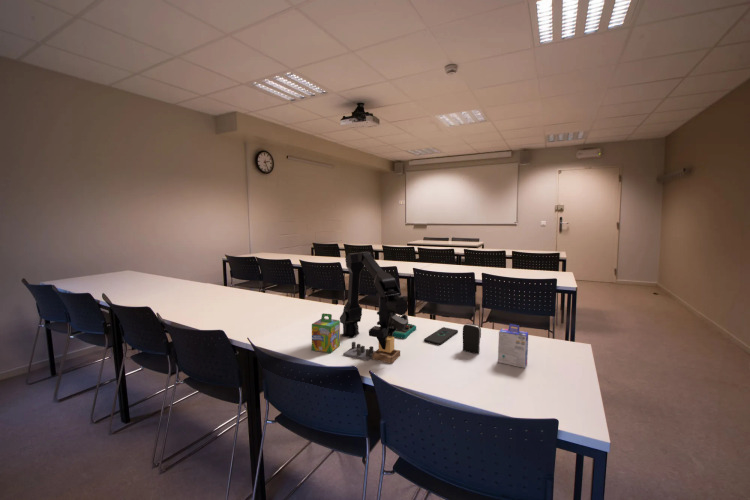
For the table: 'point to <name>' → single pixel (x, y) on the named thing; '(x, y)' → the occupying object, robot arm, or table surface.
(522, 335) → the ink cartridge box
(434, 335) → the smart home device
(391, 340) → the tan cardboard cube
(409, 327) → the digital multimeter
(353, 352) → the board
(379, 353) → the brown square tray
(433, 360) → the table surface
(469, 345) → the battery charger
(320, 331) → the chalk box
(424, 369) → the table surface
